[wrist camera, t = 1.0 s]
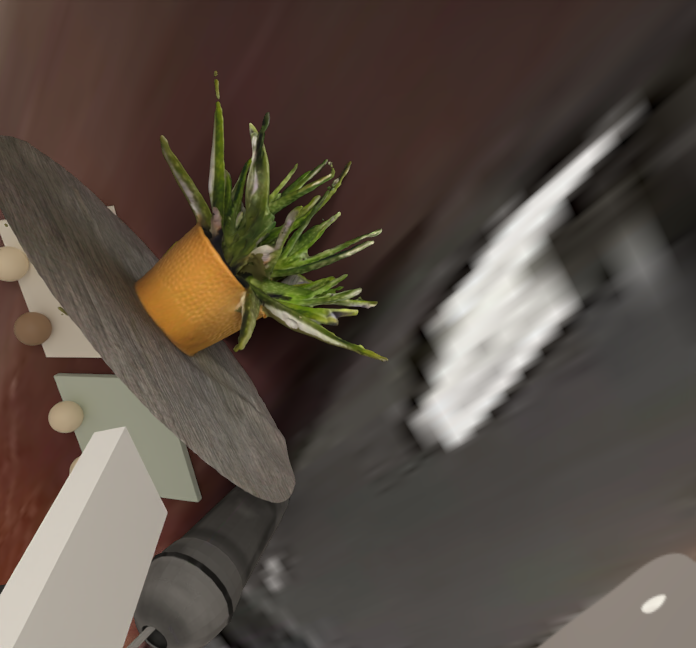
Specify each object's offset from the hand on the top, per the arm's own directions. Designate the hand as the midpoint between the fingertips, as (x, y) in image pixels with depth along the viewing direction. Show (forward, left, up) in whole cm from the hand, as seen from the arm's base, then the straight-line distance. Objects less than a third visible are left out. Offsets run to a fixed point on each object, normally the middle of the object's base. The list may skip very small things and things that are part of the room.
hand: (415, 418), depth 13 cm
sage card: (+19, -38, -25) cm, 49 cm away
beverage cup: (+24, -24, -25) cm, 42 cm away
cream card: (+4, -38, -25) cm, 45 cm away
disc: (+2, -17, -25) cm, 30 cm away
